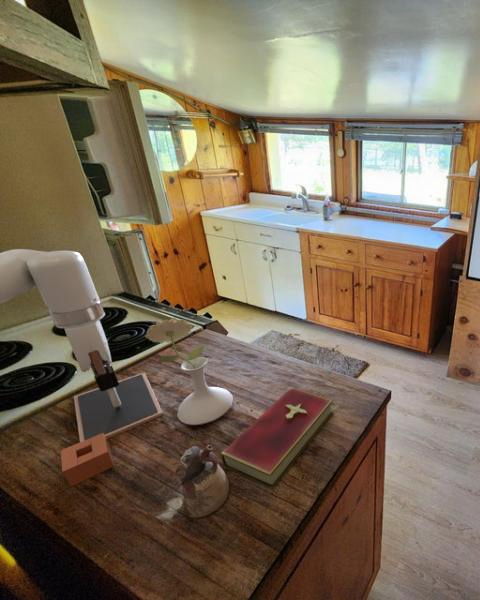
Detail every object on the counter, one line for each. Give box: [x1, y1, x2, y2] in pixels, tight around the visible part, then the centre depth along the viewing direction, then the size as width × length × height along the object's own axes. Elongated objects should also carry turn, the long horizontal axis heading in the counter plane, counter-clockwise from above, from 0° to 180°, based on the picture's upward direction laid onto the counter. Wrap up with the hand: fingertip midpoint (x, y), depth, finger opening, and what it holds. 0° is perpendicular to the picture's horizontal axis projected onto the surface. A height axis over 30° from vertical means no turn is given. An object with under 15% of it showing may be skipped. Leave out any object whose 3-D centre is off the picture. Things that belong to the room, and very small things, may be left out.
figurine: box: [175, 444, 230, 519], centre depth 56 cm, size 7×7×12 cm
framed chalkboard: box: [73, 372, 164, 443], centre depth 77 cm, size 14×20×1 cm
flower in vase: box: [144, 317, 234, 426], centre depth 71 cm, size 13×11×25 cm
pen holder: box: [60, 433, 115, 487], centre depth 62 cm, size 6×6×4 cm
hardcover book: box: [220, 386, 334, 490], centre depth 70 cm, size 12×21×4 cm, turn 159°
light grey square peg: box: [104, 365, 121, 409], centre depth 73 cm, size 1×1×12 cm
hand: (109, 385), depth 73 cm, fingers closed on light grey square peg, 1 cm apart
